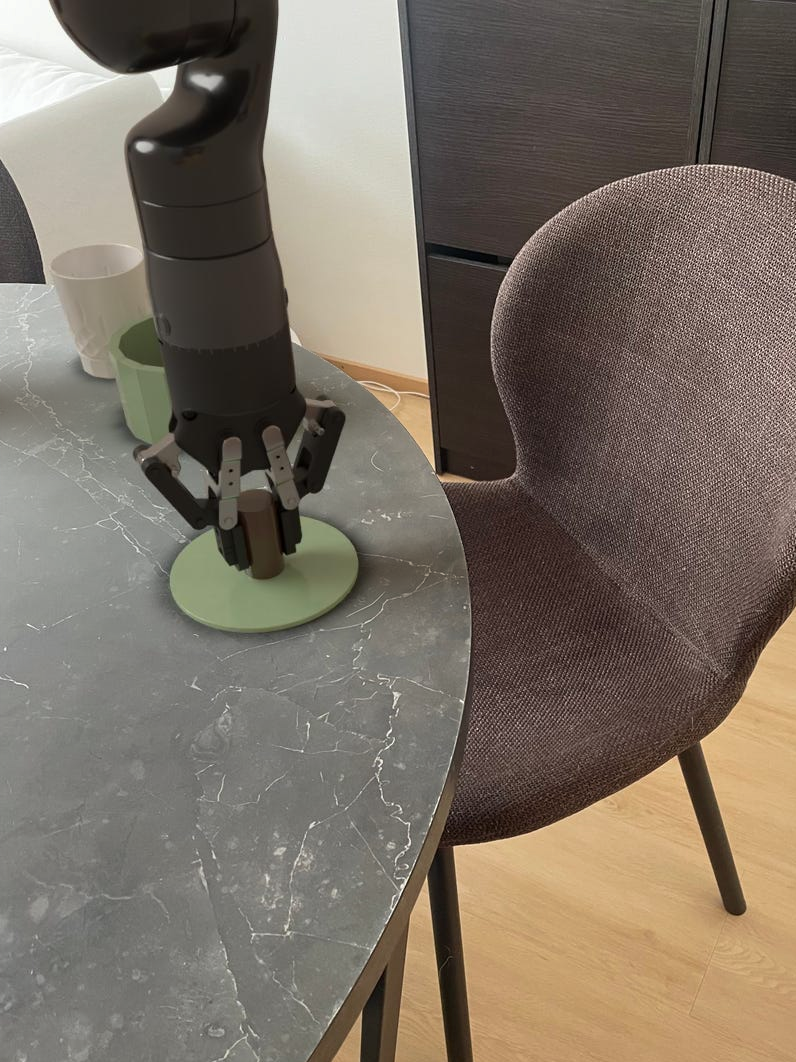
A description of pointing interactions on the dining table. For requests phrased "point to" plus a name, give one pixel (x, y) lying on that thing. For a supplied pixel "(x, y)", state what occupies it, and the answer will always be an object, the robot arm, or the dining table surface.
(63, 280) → the white cup
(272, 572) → the lid
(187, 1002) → the dining table surface
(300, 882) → the dining table surface
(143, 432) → the pot
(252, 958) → the dining table surface
